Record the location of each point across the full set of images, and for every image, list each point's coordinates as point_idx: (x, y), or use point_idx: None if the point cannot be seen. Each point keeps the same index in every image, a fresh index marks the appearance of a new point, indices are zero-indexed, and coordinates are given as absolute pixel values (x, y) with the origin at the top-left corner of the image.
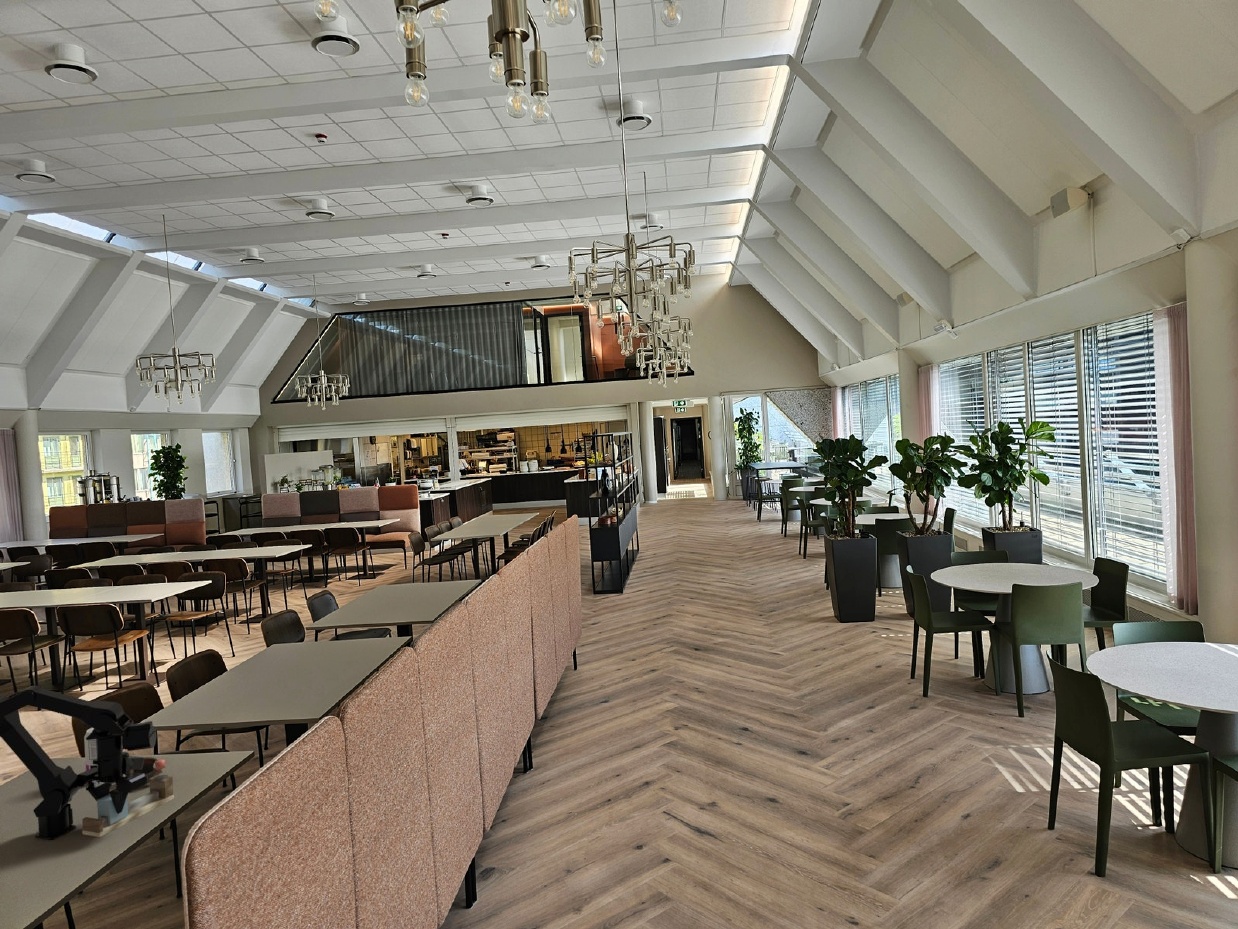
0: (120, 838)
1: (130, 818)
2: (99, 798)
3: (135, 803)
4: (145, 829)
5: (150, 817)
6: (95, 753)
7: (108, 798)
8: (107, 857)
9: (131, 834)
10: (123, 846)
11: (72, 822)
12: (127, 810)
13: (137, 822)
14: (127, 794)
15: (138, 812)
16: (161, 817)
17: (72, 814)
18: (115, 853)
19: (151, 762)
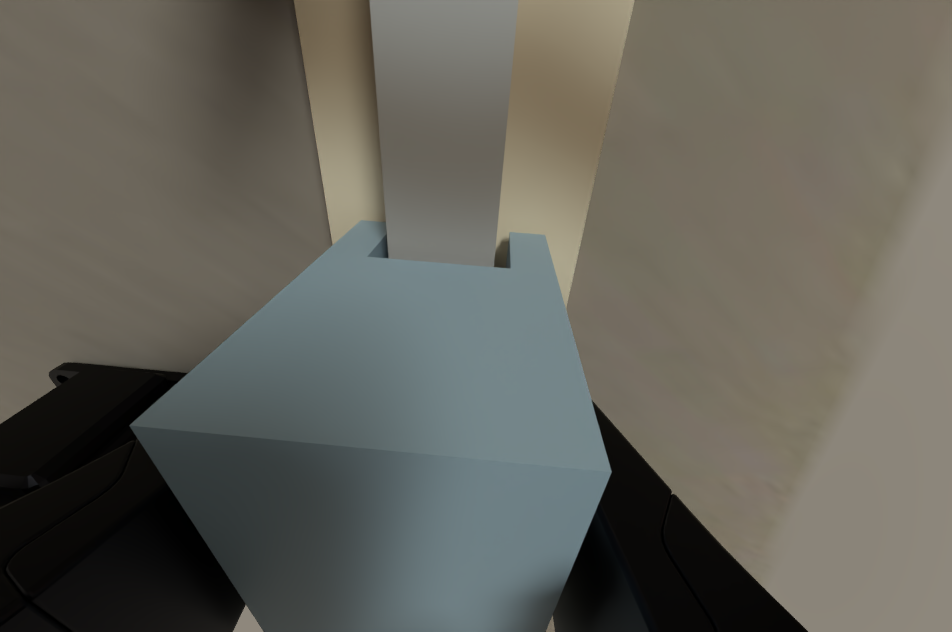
0: (691, 443)
1: (578, 233)
2: (229, 611)
3: (511, 47)
4: (835, 333)
5: (764, 101)
6: None
7: (402, 626)
8: (745, 563)
9: (745, 401)
10: (776, 501)
11: (157, 389)
12: (550, 265)
13: (669, 234)
14: (782, 621)
15: (597, 110)
16: (934, 72)
17: (91, 433)
18: (768, 543)
19: None
